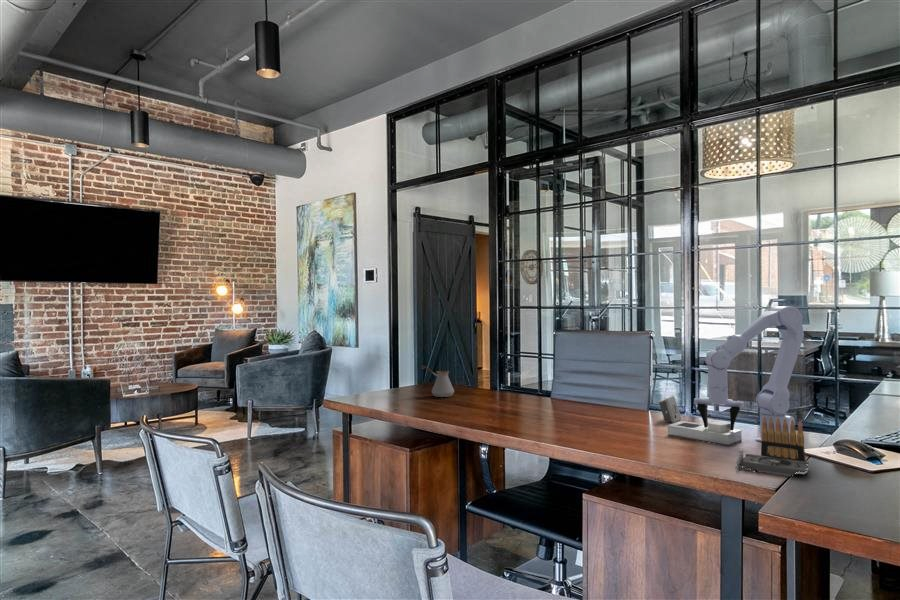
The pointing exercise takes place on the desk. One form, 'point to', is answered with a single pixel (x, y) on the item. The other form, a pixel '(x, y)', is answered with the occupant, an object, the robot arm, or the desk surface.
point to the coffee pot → (441, 384)
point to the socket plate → (703, 433)
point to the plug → (719, 427)
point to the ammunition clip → (782, 441)
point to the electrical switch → (670, 410)
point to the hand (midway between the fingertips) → (718, 428)
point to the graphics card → (770, 464)
